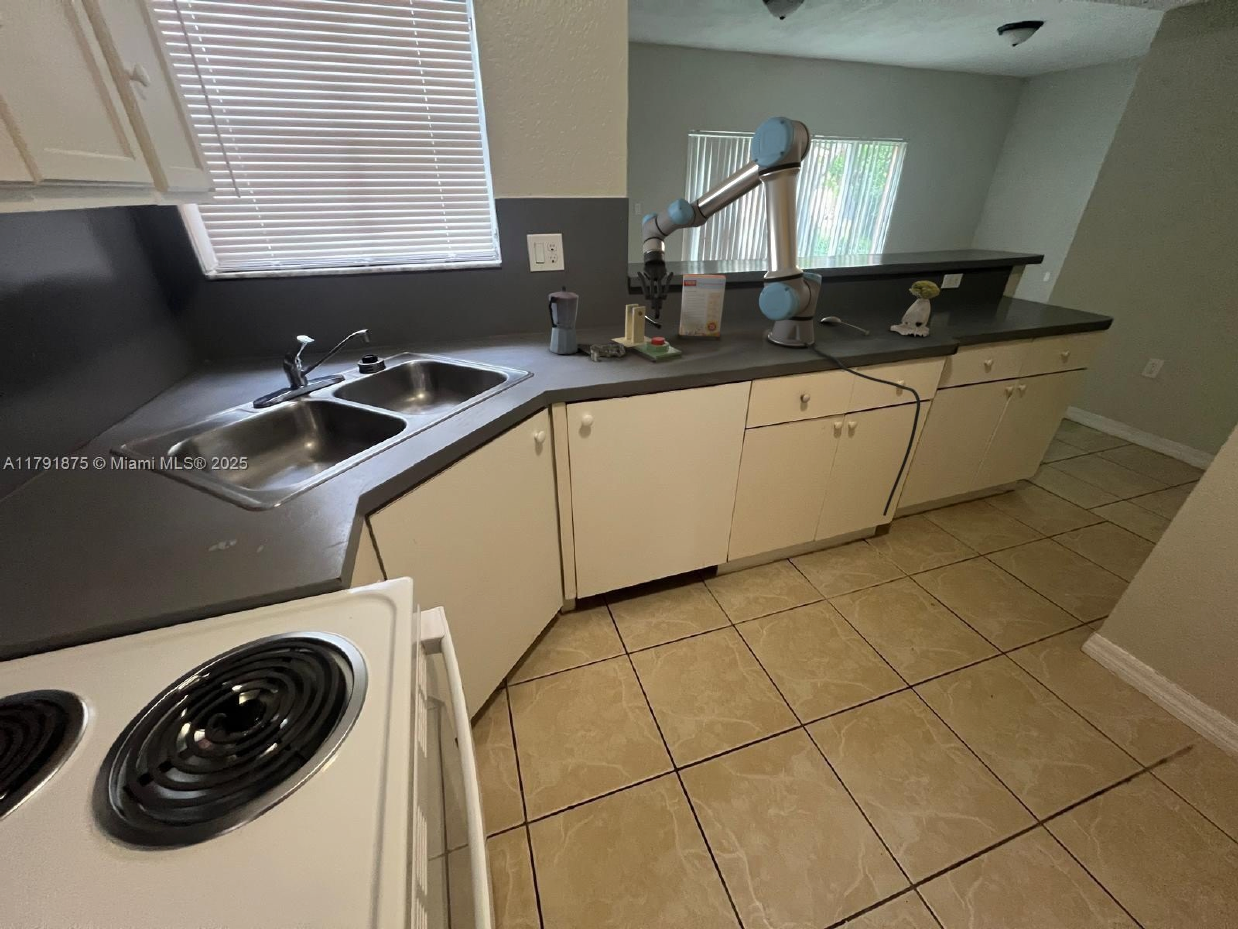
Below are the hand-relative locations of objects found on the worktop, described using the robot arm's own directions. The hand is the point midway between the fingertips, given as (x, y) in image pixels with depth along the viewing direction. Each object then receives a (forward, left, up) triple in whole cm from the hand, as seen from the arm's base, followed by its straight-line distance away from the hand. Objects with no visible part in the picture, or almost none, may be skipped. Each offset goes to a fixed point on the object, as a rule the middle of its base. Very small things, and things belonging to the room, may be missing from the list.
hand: (657, 316), depth 164 cm
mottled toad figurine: (-7, +24, -8) cm, 26 cm away
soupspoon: (-22, -74, -8) cm, 78 cm away
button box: (-13, +9, -8) cm, 18 cm away
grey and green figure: (-38, -91, -8) cm, 99 cm away
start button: (-13, +9, -5) cm, 17 cm away
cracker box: (-4, -16, -8) cm, 19 cm away
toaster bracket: (0, +9, -8) cm, 12 cm away
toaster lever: (0, +6, -1) cm, 6 cm away
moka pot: (+5, +33, -8) cm, 34 cm away
